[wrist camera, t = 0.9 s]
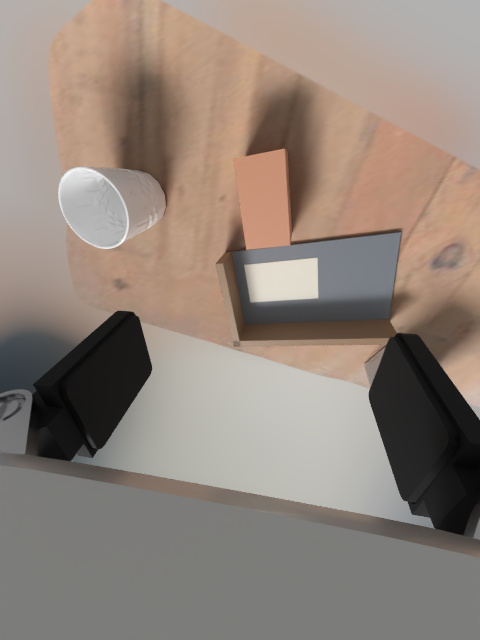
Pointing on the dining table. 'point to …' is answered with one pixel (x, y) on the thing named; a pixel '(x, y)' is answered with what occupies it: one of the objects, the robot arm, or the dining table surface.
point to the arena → (311, 292)
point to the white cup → (110, 203)
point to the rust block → (264, 199)
